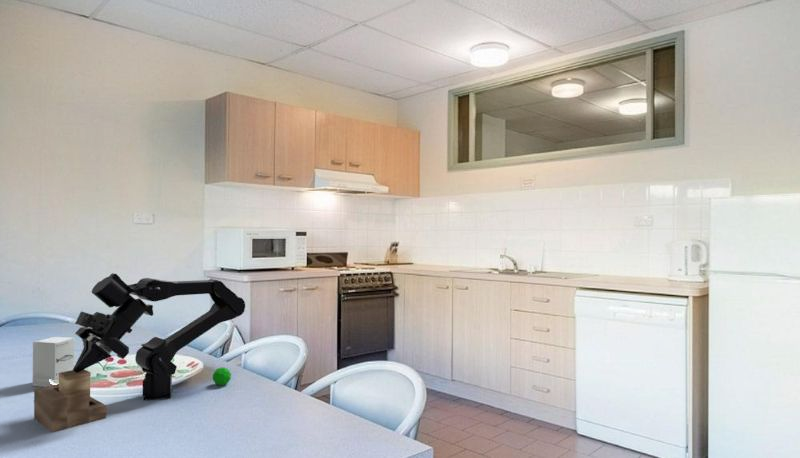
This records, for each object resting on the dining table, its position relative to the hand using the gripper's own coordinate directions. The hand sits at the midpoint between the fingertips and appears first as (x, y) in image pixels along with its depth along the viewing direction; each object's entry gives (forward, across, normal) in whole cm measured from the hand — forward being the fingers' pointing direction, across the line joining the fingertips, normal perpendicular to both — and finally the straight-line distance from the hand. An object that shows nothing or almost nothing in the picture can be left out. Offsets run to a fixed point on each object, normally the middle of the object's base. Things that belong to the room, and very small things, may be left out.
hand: (74, 371), depth 125 cm
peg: (+5, 0, +5) cm, 7 cm away
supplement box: (+4, -33, +12) cm, 35 cm away
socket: (+8, 0, +8) cm, 11 cm away
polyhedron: (-18, +4, +34) cm, 39 cm away
